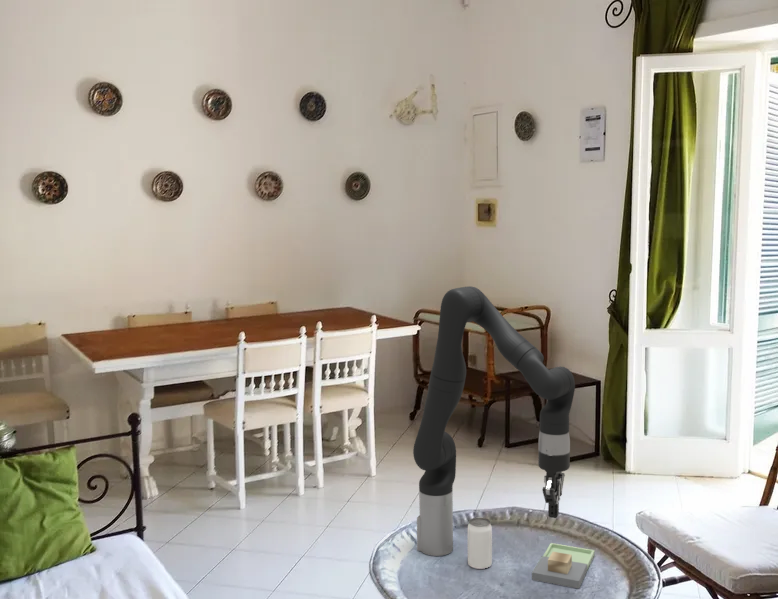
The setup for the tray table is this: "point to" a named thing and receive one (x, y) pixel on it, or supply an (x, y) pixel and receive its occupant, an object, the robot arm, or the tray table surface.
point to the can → (479, 543)
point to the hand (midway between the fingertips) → (553, 516)
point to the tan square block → (559, 562)
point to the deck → (560, 574)
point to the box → (572, 553)
